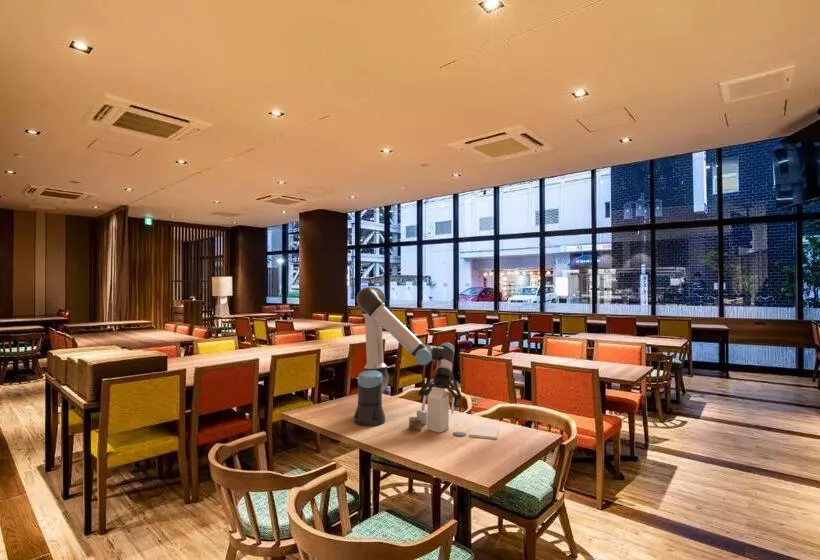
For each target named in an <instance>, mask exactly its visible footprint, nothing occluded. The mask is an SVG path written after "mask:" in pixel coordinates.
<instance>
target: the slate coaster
mask: <svg viewBox="0 0 820 560" xmlns="http://www.w3.org/2000/svg"><path fill="white" fill-rule="evenodd" d="M452 435H453V436H454V437H456V438H457V437H458V438H464V437H467V433H466V432H463V431H454V432H452Z"/></svg>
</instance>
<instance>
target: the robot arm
mask: <svg viewBox="0 0 820 560" xmlns="http://www.w3.org/2000/svg"><path fill="white" fill-rule="evenodd" d="M385 302H386V296H385V293H384V292H383V291H382V290H381V289H380V288H378V287H377V286H376V287H372V286H371V287H370V286H369V287H363V288H362V289H360V290H359V292H358V293H357V295H356V303H357V306H358V307H359V308H360V309H361V315H362V316H363V317H364V327H365V348H366V351H365V352H366V364H365V365H364V367H363V371H361V372H360V373H359V374H358V376H357V377H358V378H357V405H356V408H355V412H354V416H353V423H355V424H356V425H359V426H365V427H367V426H369V427H373V426H380V425H382V424H384V423H386V414H385V412H384V408H383V403H382V402H383V391H384V390H385V389H386V388H387V387H388V385H389V381H390V376H389V372H388V367H387V366H388V365H387V364H386V363H385V362H384V345H383V344H384V343H383V328H384V329H385V330H386V331H387V332H388V333H389V334H390V335H391V336H392V337H393V338H394V339H395V340H397V342H399V344H400V345H402V346H403V348H405V350H407V352H409V353H410V355H412V357H413V358H414V359H415V361H416V363H418V364H419V365H420V366H427V365H428V364H429V363H431V361H433V362H437V363H436V368H435V369H436V370H435V375H434V378H431V377H427V380H426V381H425V383H424V384H423V385H422V387H421V388H420V389H419V391H418V392H417V393H418V396H419V397H420V403H421V410H422V411H424V410H425V408H426V401H427V397H428V395H429V394H430V392H431V390H432V387H436V388H442V389H445V390H447V391H448V392H449V395H451V396H452V402H451V408H450V412H451V414H454V412H455V407H457V406H458V400H463V399H462V398H463V397H462V394H461V392H460V388H459V387H458V383H457V380H456V378H455V379H452V380H451V376H452V370H453V363H454V358H455V350H456V349H455V346H454V345H453V344H452V343H450V342H443V343H441V344H440V346H438V345H437V346H436V345H431V344H426V343H423V342H422V341H421V340H420V339H419V338H418V337H417V336H416V335H415V334H414V333H413V332H412V331H411V330H410V329H409V328H408V327H407V326H406V325H405V324H403V322H401V320H399V318H397V317H396V316H395V315H394V314H393V313H392V312H391V311H390V310H389V309H388V308H387V307H386V304H385ZM450 385H452V386H453V387H454V389H455V391H454V390H453V388H452V387H451V386H450Z"/></svg>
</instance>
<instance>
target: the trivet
mask: <svg viewBox="0 0 820 560" xmlns="http://www.w3.org/2000/svg"><path fill="white" fill-rule="evenodd" d="M499 432H500V429H499V428H496V427H484V426H477V425H476V426H475V425H472V426H471V429H470V431H469V437H470V438H471V437H472V438H479V439H490V440H498V438H499Z"/></svg>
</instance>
